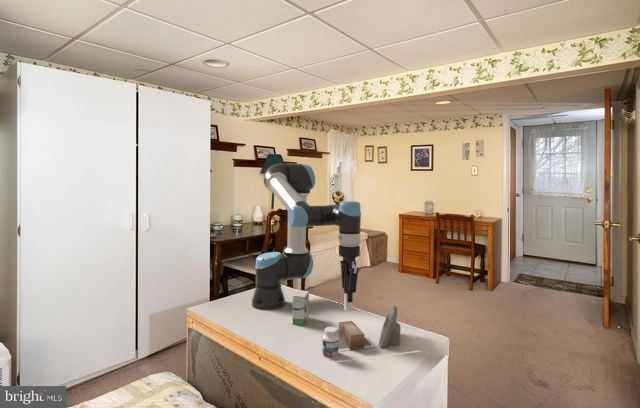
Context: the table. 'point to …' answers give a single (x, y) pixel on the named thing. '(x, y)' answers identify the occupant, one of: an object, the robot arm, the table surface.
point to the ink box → (300, 307)
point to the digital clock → (390, 330)
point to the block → (351, 335)
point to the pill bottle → (330, 343)
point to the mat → (343, 347)
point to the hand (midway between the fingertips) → (348, 309)
